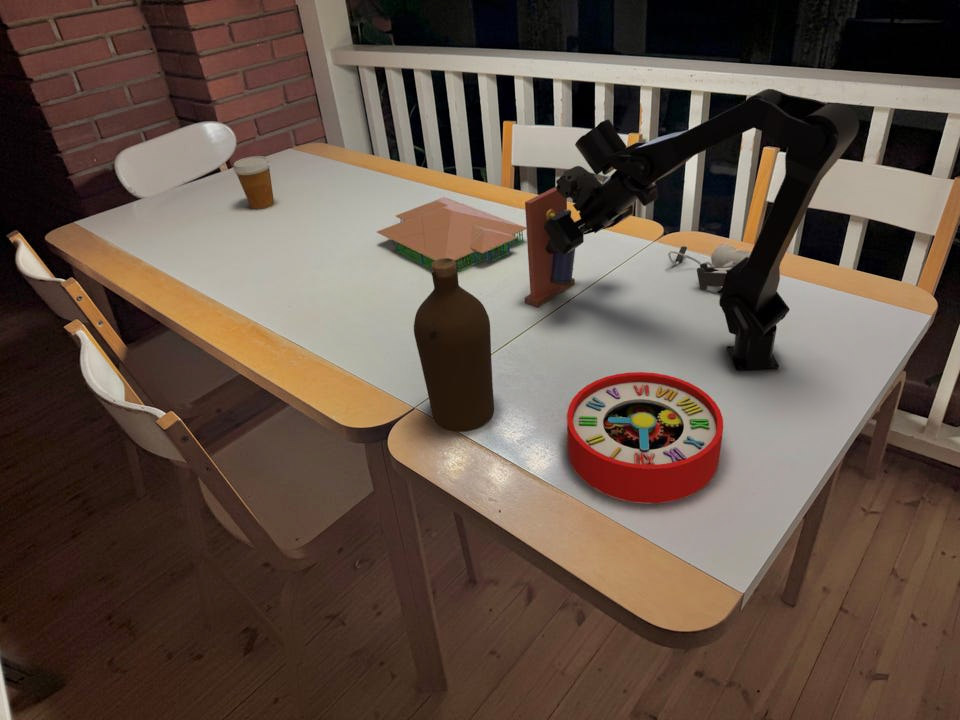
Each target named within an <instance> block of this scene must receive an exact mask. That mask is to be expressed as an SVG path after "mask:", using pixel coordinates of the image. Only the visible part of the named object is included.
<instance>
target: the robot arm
mask: <svg viewBox="0 0 960 720" xmlns="http://www.w3.org/2000/svg"><path fill="white" fill-rule="evenodd" d="M859 128H860V121H859V120H858V117H857V114H856V113H855V111H854V110H853V108H851V107H850V106H848V105H846V104H844V103H840V102H833V103H825V102H823V101H820V100H817V99H814V98H808V97H803V96H797V95H791V94H787V93H785V92H782V91H780V90H777V89H774V88H766V89H763V90H761V91H759V92H756V93H755V94H753V95H751V96H749V97H747V99H746V100H744V101H743V102H741V103H740V104H738V105H735V106H734V107H731V108H729V109H728V110H726V111H724V112H722V113H720V114H718V115H715V116H714V117H712V118H709V119H708V120H706V121H704V122H702V123H700V124H698V125H696V126H694V127H691V128H689V129H686V130H683V131H676V132H672V133H668V134H665V135H662V136H658V137H656V138H654V139H652V140H650V141H636V142H634V143H632V144H630V145H628V146H627V145H626V143H625V142H624V140H623V139H622V138H621V136H620V135H619V133H618V131H616V129H615V127H614V125H613V123H612V122H611V120H610V119H607V118H606V119H604V120H602V121H600V122H598V124H597V125H596V126H595V127H593V128H592V129H590V130H589V131H587V133H585V134H583V135H581V136H580V137H579V138H578V139H577V140H576V142H575V143H574V146H575V147H576V148H577V151H578V152H579V154H580V155H581V156H582V157H583V159H584V160H585V162H586V163H587V164H588V166H589V167H590V168H591V170H592V172H593V173H594V174H595V175H596V176H598V175H600V173H601V174H603V176H606V175H608V174H609V173H611V172H612V171H614V170H615V171H614V172H613V173H612V174H611V175H610V176H609V177H607V178H606V179H605V180H604V181H603V182H602V183H601V181H600V180H598V178H597V177H596V176H595V175H594V174H592V173H591V172H590V171H588V170H587V169H586V168H585V167H583V166H582V165H581V166H580V165H575V166H572V167H571V168H569V169H567V170H565V171H564V172H563V174H561V175H560V176H559V178H558V179H557V180H556V181H555V184H556V186H555V187H556V190H557V192H558V193H560V194H561V195H562V196H563V197H565V198H567V199H569V198H570V199H571V200H572V201H574V203H573V204H572V207H573V208H574V209H575V211H576V212H579V213H578V215H579V219H578V220H576V221H574V219H573V218H572V215H571V216H570V215H569V214H568V213H565V212H561V213H559V214H557V215H555V216H554V217H552V218H550V219H549V220H548V221H547V222H546V223H545V224H544V229H545V231H546V232H547V234H548V235H549V236H550V240H549V242H548V244H547V247H546V251H547V252H548V253H549V254H552V253H560V252H561V253H563V254H567V253H568V252H570V251H572V250H574V249H575V250H576V248H577V249H578V247H579V246H581V245H582V244H583V243H584V242H585V241H584V237H585V235H588V234H591V233H592V234H593V233H594V234H597V233H598V232H600V231H602V230H606V229H609V228H613V227H614V226H616V225H618V224H620V223H622V222H623V221H624V220H626V219H628V218H629V217H630V216H631V215H632V214H633V213H634V210H633V209H634V206H633V204H634V203H635V202H636V201H639V202H640V204H641V205H642V206H643V207H646V206H648V205H650V204H651V203H653V202H655V201H657V200H658V199H659V193H658V185H657V184H654V183H656V182H658V181H659V180H661V179H662V178H664V177H667V176H668V175H670V174H671V173H673V172H675V171H676V170H678V169H679V168H680V167H681V166H683V165H684V164H686V163H687V162H689V160H691V159H692V158H693V157H695V156H696V155H698V154H700V153H703V152H705V151H708V150H709V149H712V148H714V147H716V146H718V145H719V144H722V143H724V142H726V141H728V140H730V139H733V138H735V137H737V136H739V135H741V134H743V133H746V132H747V131H750V130H753V129H756V130H758V131H761V132H762V133H763V134H764V135H765V136H766V137H767V138H769V139H770V140H771V141H772V142H774V143H775V144H777V145H779V146H782V147H784V148H786V151H785V156H784V161H785V162H784V164H785V165H784V168H785V171H784V173H785V174H784V178H783V180H782V182H781V184H780V187H779V189H778V191H777V194H776V195H775V198H774V200H773V201H772V202H773V203H772V204H771V207H770V209H769V211H768V213H767V216H766V218H765V221H764V223H763V224H762V227H761V230H760V232H759V234H758V236H757V239H756V240H755V243H754V246H753V247H752V250H751V251H752V252H751V254H750V256H749V258H748V257H745V258H744V259H743V260H741V261H740V262H739V263H737V264H736V265H735V266H733V267H732V268H731V269H730V270H728V271H727V273H726V276H725V280H724V284H723V286H721V287H720V289H719V290H718V291H717V295H720V296H719V300H718V302H719V303H718V305H719V307H721V310H722V312H723V313H724V316H725V321H726V325H727V330H728V333H730V334H731V335H735V336H734V341H733V342H734V343H733V345H727V346H726V347H725V351H726V353H727V355H728V357H729V359H730V362H731V364H732V366H733V368H734V370H735V371H736V372H751V371H768V370H770V371H771V370H779V368H780V365H779V362H778V361H777V359H776V357H775V355H774V353H773V352H774V347H775V341H776V335H777V329H778V326H777V325H778V324H779V323H780V322H781V321H783V319H785V317H786V316H787V315H788V313H789V312H790V307H789V306H788V305H787V303H786V302H785V301H784V299H783V298H782V296H781V295H780V294H779V292H778V288H779V283H780V280H781V271H780V270H781V269H780V267H781V263H782V261H783V260H784V257H785V256H786V253H787V251H788V249H789V247H790V245H791V242H792V241H793V239H794V237H795V234H796V233H797V231H798V228H799V226H800V225H801V222H802V220H803V218H804V216H805V214H806V212H807V210H808V208H809V206H810V204H811V202H812V199H813V198H814V196H815V194H816V191H817V190H818V188H819V185H820V184H821V181H822V180H823V179H824V177H825V176H826V175H827V173H828V172H830V170H831V169H832V168H833V167H834V165H835V164H836V163H837V162H838V160H840V158H841V157H842V155H844V153H845V152H846V150H847V149H848V147H849V146H850V145H851V143H852V142H853V140H854V139H855V138H856V136H857V135H858V131H859V130H860V129H859Z"/></svg>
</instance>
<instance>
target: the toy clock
mask: <svg viewBox="0 0 960 720" xmlns="http://www.w3.org/2000/svg"><path fill="white" fill-rule="evenodd" d="M566 428H567V429H566V432H567V433H566V435H567V457H568V459H569V462H570V466H571V467H572V468H573V470H574V472H575V474H576V475H577V476H578V477H579V478H580V480H582V481H583V482H585V483H586V484H587V485H588V486H590V487H591V488H592V489H594V490H596V491H597V492H599V493H601V494H603V495H606V496H608V497H611V498H614V499H615V500H621V501H624V502H629V503H634V504H635V503H636V504H665V503H671V502H674V501H679V500H681V499H685V498H688V497H689V496H692V495H693V494H696V493H698V492H699V491H701V490H702V489H704V488H705V487H706V486H707V485H708V484H709V483H710V482H711V481H712V479H713V478H714V476H715V475H716V472H717V471H718V466H719V464H720V463H719V462H720V457H721V456H720V455H721V449H722V441H723V433H724V418H723V414H722V412H721V409H720V408H719V406H718V404H717V403H716V401H715V400H714V399H713V398H712V397H711V396H710V395H709V394H708V393H707V392H705V391H704V390H702V389H701V388H700V387H698V386H697V385H694V384H693V383H691V382H688V381H686V380H684V379H681V378H678V377H676V376H672V375H668V374H663V373H657V372H648V371H647V372H645V371H635V372H634V371H631V372H621V373H616V374H611V375H608V376H604V377H602V378H599V379H596V380H595V381H592V382H591V383H589V384H586V385H585V386H584V387H583V388H582V389H580V390H579V391H578V392H577V393H576V394H575V395H574V397H573V398H571V401H570V403H569V405H568V408H567V412H566Z"/></svg>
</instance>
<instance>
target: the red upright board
mask: <svg viewBox="0 0 960 720" xmlns="http://www.w3.org/2000/svg"><path fill="white" fill-rule="evenodd" d="M524 207H525V227H526V228H527V229H526V242H527V243H526V244H527V260H528V261H527V262H528V273H529V275H528V276H529V294H528V295H526V296H524V304H528V305H530V306H532V307H535V308H539V307H541V306H543V305H544V304H546V303H547V302H549V301H550V300H552V299H553V298H555V297H556V296H558V295H560V294H561V293H563V292H565V291H566V290H568V289H569V288H572V287H573V286H574V285H575V284H576V279H575V278H574V277H572V283H571V284H570V285H556V284H553V283H551V282H550V278H551V273H552V263H553V253H552V254H549V253H548V252H547V251H546V247H547V244H548V242H549V240H550V236H549V235H548V234H547V232H546V231H545V229H544V224H545V223H546V222H547V221H548V220H549V219H550V218H552V217H554V216H555V213H556V212H558V211H563V210H568V198H565V197H563V196H562V195H561V194H560V193H558V192H557V190H556V186H555V187H552V188H550V189H548V190H546V191H545V192H543V193H540V194H538V195H536V196H534V197H532V198H530V199H528V200H526V201H525V202H524Z"/></svg>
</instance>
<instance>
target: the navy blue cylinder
mask: <svg viewBox="0 0 960 720" xmlns="http://www.w3.org/2000/svg"><path fill="white" fill-rule="evenodd" d="M561 212H565V213H568V214H569V215H570V216H571V217H572V210H571V209H569V208H567V210H563V211H558V212H556V213H555V215H557V214H559V213H561ZM575 255H576V248H575V249H574V250H572V251H570V252H568V253H567V254H563V253H561V252H560V253H553V263H552V273H551V278H550V282H551V283H553V284H556V285H570V284H571V283H572V278H573V272H574V264H575V263H574V262H575Z"/></svg>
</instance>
